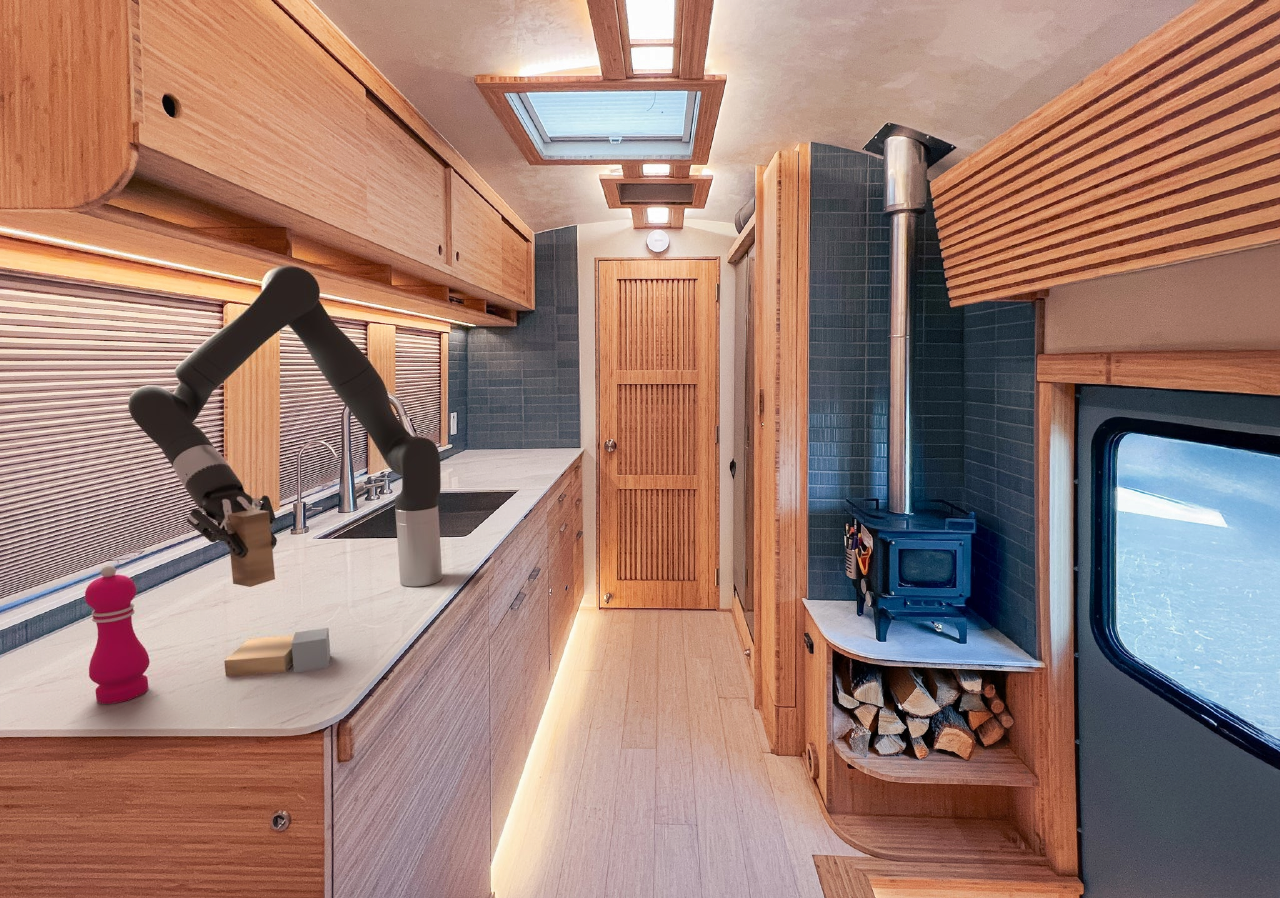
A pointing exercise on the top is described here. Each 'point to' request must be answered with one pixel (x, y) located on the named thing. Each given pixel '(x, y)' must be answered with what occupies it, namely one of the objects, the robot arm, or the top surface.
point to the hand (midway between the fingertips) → (258, 550)
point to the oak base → (261, 656)
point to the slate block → (311, 650)
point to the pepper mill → (116, 640)
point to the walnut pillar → (253, 548)
